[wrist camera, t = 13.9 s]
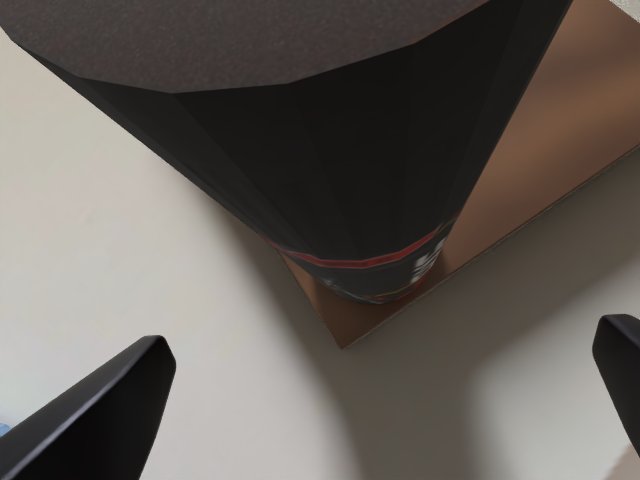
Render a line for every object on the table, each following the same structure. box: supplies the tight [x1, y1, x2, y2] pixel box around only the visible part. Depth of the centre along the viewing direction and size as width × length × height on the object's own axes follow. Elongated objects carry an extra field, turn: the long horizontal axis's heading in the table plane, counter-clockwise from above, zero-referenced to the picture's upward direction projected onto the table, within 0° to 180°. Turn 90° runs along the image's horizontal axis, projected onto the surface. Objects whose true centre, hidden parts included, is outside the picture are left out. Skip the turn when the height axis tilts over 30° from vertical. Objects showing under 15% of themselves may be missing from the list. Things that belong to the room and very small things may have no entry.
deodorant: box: [0, 0, 573, 305], centre depth 10 cm, size 6×6×15 cm
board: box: [276, 0, 640, 350], centre depth 20 cm, size 22×20×2 cm
